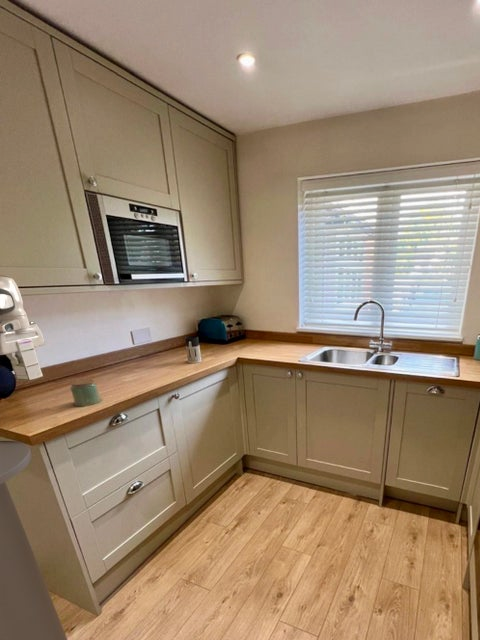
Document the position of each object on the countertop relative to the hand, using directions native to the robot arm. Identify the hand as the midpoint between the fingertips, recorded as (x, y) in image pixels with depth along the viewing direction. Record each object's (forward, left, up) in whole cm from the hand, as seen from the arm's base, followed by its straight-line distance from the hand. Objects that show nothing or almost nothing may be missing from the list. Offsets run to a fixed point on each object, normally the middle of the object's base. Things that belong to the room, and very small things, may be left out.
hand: (25, 362), depth 122 cm
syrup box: (0, 0, -6) cm, 6 cm away
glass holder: (+77, -36, -20) cm, 88 cm away
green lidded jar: (+10, -12, -20) cm, 26 cm away
